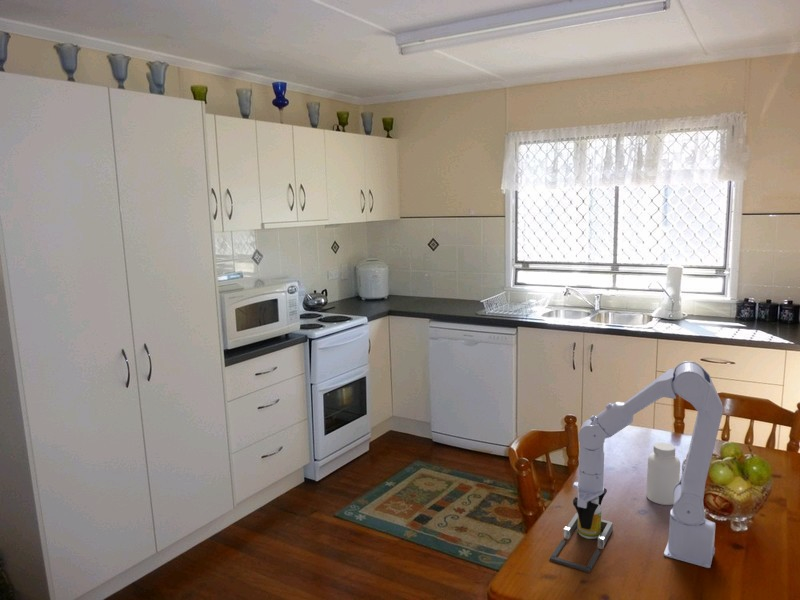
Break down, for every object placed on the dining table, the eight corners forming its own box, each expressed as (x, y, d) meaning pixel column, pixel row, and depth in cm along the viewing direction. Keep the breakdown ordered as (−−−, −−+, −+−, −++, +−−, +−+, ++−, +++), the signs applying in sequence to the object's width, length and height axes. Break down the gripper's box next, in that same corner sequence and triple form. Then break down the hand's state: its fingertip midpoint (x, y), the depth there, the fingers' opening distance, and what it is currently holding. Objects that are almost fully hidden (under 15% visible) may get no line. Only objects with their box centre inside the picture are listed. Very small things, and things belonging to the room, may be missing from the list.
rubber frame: (600, 553, 139) (600, 550, 138) (589, 572, 132) (589, 570, 131) (561, 542, 143) (561, 539, 143) (549, 560, 136) (549, 557, 136)
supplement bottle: (601, 540, 144) (603, 502, 142) (578, 538, 145) (579, 500, 143) (599, 528, 149) (600, 491, 147) (576, 526, 150) (577, 490, 148)
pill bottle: (645, 503, 161) (648, 449, 158) (646, 489, 168) (648, 438, 165) (678, 508, 158) (682, 454, 155) (677, 494, 165) (680, 442, 162)
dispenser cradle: (612, 529, 148) (613, 520, 148) (602, 549, 140) (603, 539, 140) (575, 519, 153) (575, 511, 153) (563, 538, 145) (563, 528, 145)
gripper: (583, 455, 152) (581, 505, 154) (565, 478, 140) (563, 531, 142) (611, 461, 148) (609, 512, 151) (595, 485, 136) (593, 540, 139)
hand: (589, 522), depth 146 cm, fingers closed on supplement bottle, 5 cm apart
